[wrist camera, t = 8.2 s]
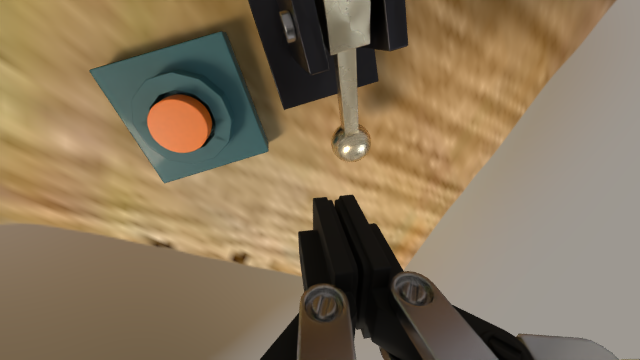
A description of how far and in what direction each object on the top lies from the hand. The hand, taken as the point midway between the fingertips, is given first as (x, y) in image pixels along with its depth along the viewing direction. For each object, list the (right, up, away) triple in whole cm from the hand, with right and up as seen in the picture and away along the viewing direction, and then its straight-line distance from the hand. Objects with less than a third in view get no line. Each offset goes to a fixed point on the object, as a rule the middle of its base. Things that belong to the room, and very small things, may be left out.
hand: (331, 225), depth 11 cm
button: (-11, +7, +9) cm, 16 cm away
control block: (-12, +8, +12) cm, 19 cm away
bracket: (-1, +15, +10) cm, 18 cm away
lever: (+1, +9, +7) cm, 11 cm away
